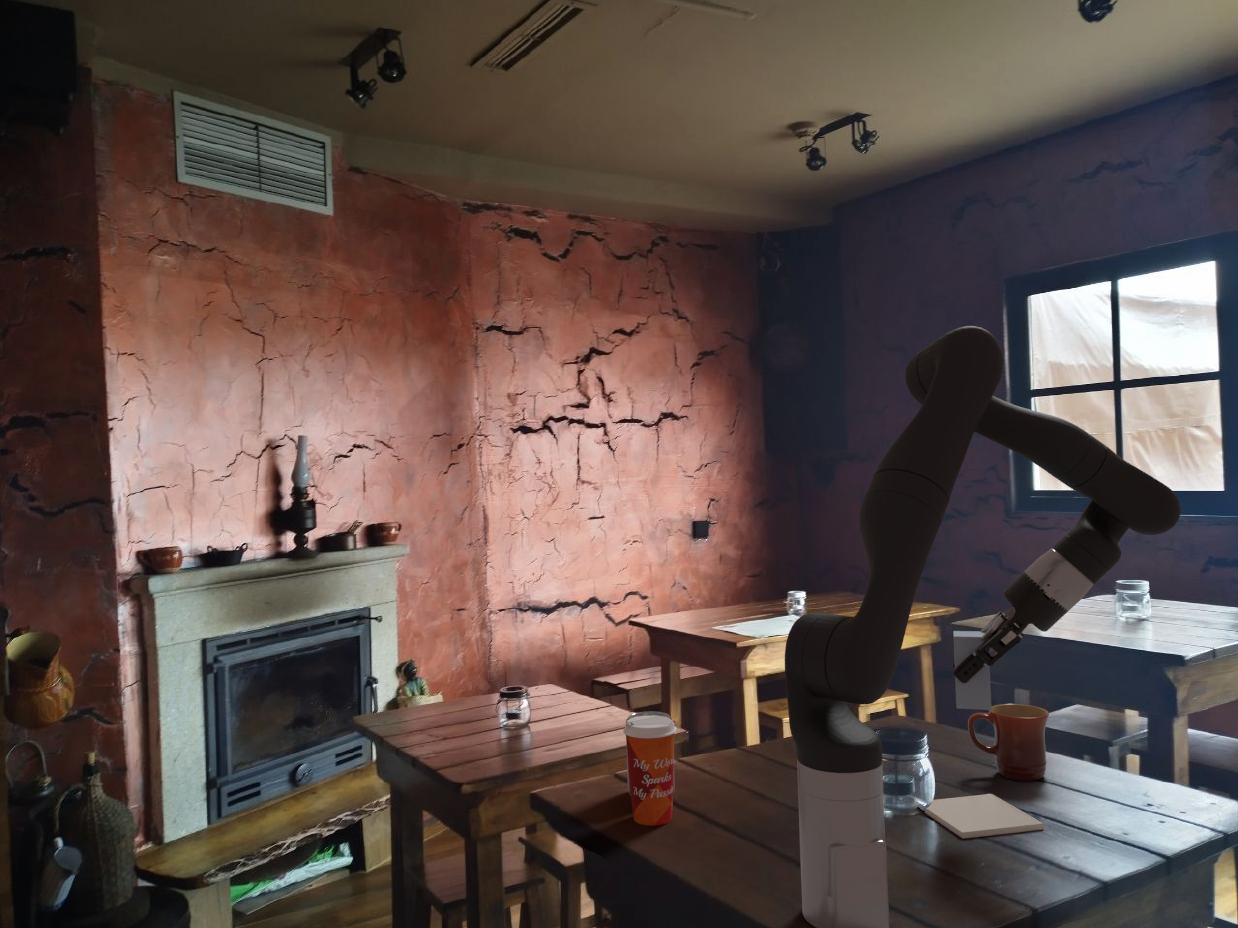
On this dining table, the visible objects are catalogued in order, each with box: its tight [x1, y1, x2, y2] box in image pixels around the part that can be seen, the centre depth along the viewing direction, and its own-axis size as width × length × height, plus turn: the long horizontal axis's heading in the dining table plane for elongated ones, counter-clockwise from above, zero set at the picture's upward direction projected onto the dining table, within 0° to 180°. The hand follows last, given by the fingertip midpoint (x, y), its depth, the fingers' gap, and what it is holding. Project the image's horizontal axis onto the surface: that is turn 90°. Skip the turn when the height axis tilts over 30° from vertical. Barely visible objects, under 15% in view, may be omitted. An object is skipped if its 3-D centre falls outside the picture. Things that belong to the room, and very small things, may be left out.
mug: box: [967, 703, 1050, 782], centre depth 147 cm, size 12×9×10 cm
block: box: [952, 630, 992, 711], centre depth 129 cm, size 4×4×10 cm
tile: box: [924, 793, 1045, 840], centre depth 129 cm, size 12×12×1 cm
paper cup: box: [623, 716, 678, 827], centre depth 133 cm, size 8×8×14 cm
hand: (958, 673), depth 130 cm, fingers closed on block, 4 cm apart
